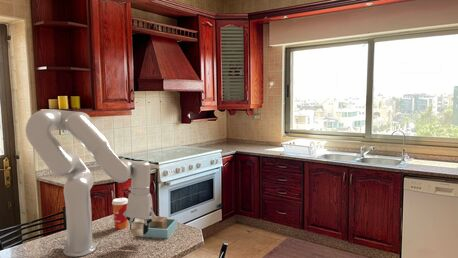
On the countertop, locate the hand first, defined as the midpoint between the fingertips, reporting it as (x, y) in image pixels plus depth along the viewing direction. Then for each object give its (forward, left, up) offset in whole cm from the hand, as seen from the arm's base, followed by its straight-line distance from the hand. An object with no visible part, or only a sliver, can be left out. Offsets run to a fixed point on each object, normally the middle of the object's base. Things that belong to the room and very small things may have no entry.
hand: (139, 232), depth 145 cm
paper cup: (-17, +16, -6) cm, 24 cm away
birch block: (0, 0, -1) cm, 1 cm away
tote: (+3, +14, -6) cm, 15 cm away
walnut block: (+3, +14, -5) cm, 15 cm away
